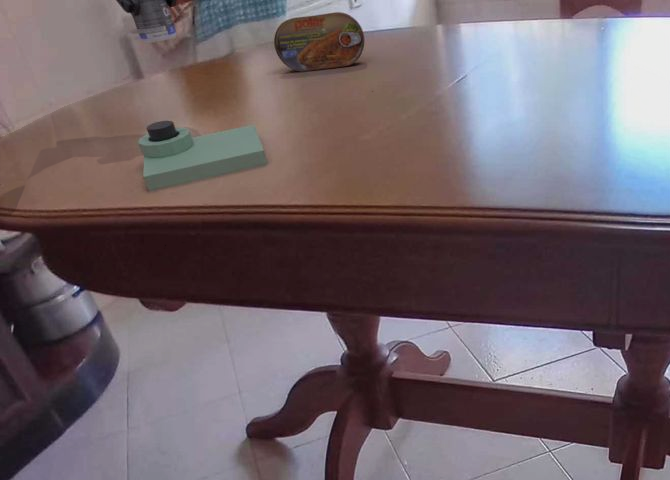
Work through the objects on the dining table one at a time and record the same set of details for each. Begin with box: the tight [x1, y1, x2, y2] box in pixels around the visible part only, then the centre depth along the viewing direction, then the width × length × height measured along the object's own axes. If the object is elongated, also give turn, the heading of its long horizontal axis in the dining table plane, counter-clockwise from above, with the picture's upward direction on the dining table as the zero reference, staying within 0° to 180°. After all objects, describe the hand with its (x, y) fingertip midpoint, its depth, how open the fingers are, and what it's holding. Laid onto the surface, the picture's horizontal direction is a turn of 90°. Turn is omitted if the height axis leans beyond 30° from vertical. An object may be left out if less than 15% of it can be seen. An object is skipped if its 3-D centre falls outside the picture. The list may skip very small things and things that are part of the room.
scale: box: [137, 124, 269, 192], centre depth 87 cm, size 14×12×4 cm
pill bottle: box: [131, 0, 177, 44], centre depth 93 cm, size 5×5×8 cm
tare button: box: [146, 120, 178, 142], centre depth 87 cm, size 3×3×2 cm
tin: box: [273, 11, 365, 73], centre depth 118 cm, size 15×3×8 cm, turn 92°
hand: (155, 6), depth 92 cm, fingers closed on pill bottle, 4 cm apart
